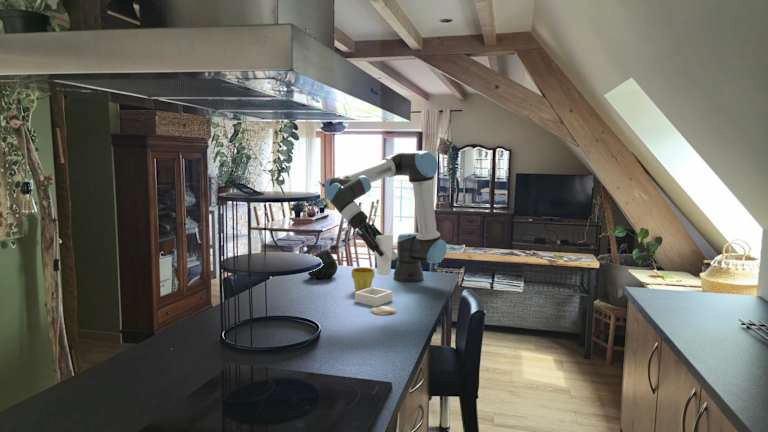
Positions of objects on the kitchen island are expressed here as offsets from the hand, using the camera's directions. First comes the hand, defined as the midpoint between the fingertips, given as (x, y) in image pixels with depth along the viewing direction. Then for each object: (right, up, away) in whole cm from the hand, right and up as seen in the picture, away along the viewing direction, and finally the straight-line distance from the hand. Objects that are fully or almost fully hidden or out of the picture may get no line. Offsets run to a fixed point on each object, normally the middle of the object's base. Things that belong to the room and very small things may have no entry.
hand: (392, 259), depth 197 cm
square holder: (-8, -19, +18) cm, 27 cm away
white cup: (-3, -6, +2) cm, 7 cm away
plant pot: (-13, -17, +34) cm, 41 cm away
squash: (-34, -14, +59) cm, 70 cm away
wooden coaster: (-3, -21, +4) cm, 21 cm away
